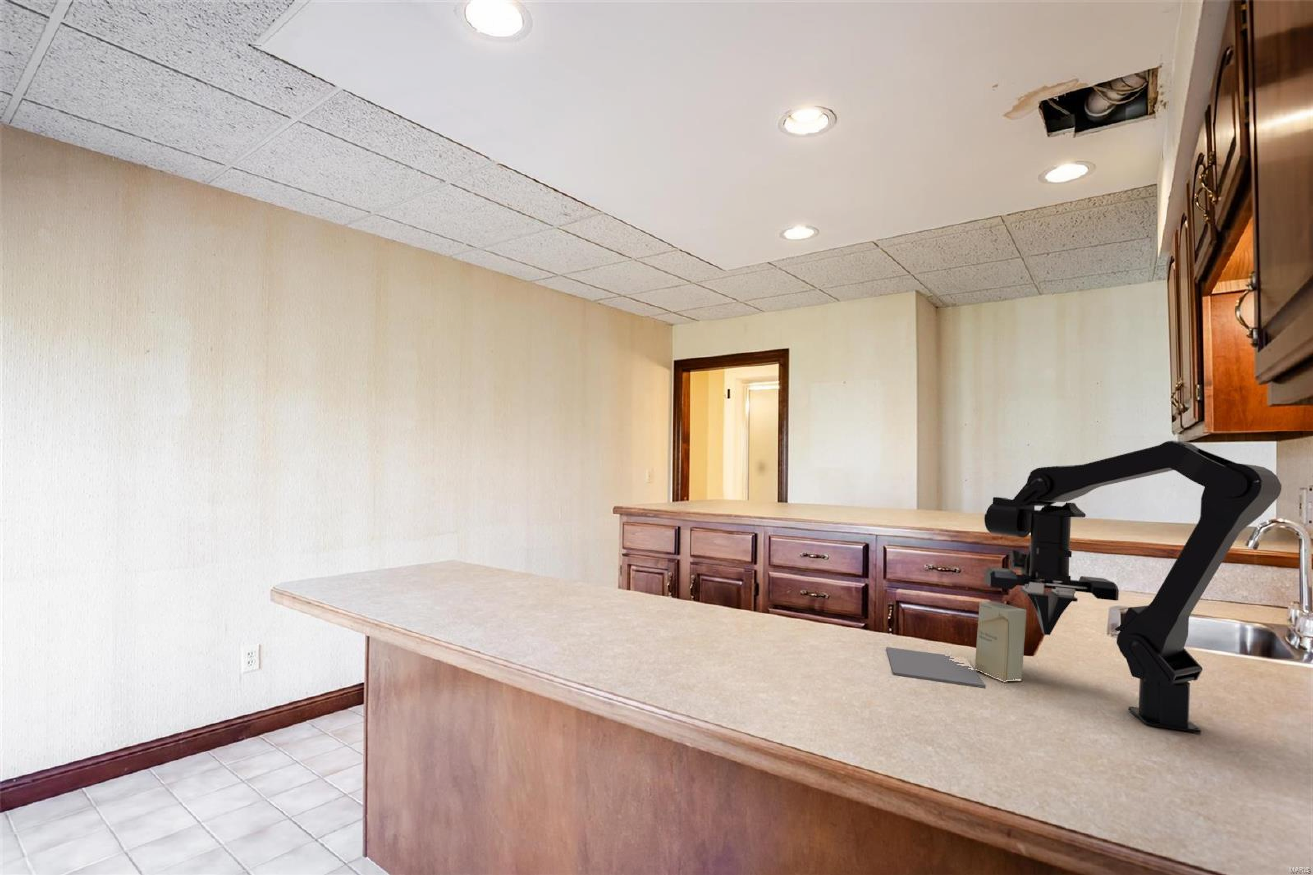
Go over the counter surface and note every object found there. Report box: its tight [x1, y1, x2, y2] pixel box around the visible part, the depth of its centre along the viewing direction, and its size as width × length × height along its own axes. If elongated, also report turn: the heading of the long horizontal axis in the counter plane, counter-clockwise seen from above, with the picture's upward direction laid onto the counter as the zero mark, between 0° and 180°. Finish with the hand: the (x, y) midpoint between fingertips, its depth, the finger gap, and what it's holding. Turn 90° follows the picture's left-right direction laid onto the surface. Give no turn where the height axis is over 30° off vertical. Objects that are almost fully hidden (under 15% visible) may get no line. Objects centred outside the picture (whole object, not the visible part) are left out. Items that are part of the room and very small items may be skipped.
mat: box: [885, 646, 987, 688], centre depth 111 cm, size 16×14×1 cm
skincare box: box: [974, 601, 1027, 681], centre depth 109 cm, size 6×4×12 cm
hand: (1046, 634), depth 107 cm, fingers closed
